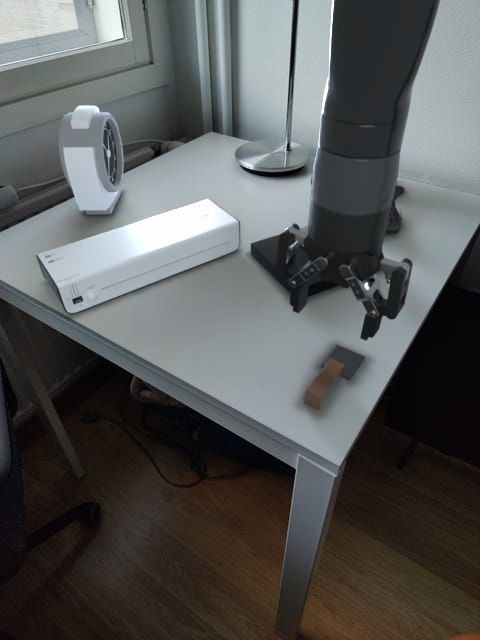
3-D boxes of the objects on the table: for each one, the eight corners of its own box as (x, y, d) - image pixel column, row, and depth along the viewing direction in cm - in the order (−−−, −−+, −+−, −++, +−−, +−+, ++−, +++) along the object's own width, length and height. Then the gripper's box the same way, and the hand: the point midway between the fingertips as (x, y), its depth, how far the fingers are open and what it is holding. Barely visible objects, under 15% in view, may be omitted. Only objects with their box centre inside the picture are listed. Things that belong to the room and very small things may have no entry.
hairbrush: (419, 180, 103) (396, 227, 86) (415, 196, 106) (392, 244, 88) (382, 174, 106) (353, 218, 89) (379, 189, 108) (350, 235, 91)
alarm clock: (114, 222, 97) (92, 123, 84) (74, 223, 97) (45, 124, 84) (131, 185, 110) (114, 94, 97) (96, 185, 111) (74, 94, 97)
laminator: (210, 225, 95) (208, 198, 91) (244, 252, 88) (243, 223, 84) (45, 283, 81) (34, 253, 77) (69, 321, 74) (58, 290, 69)
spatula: (336, 346, 68) (338, 334, 67) (364, 358, 66) (367, 345, 65) (296, 400, 61) (298, 387, 59) (326, 415, 59) (329, 402, 57)
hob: (328, 229, 93) (330, 218, 92) (386, 272, 82) (389, 260, 80) (250, 254, 87) (250, 242, 85) (301, 304, 76) (302, 292, 74)
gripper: (441, 195, 42) (402, 326, 53) (303, 161, 48) (294, 285, 59) (413, 231, 38) (377, 366, 48) (265, 188, 44) (262, 317, 54)
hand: (331, 321), depth 54 cm, fingers open, 8 cm apart
